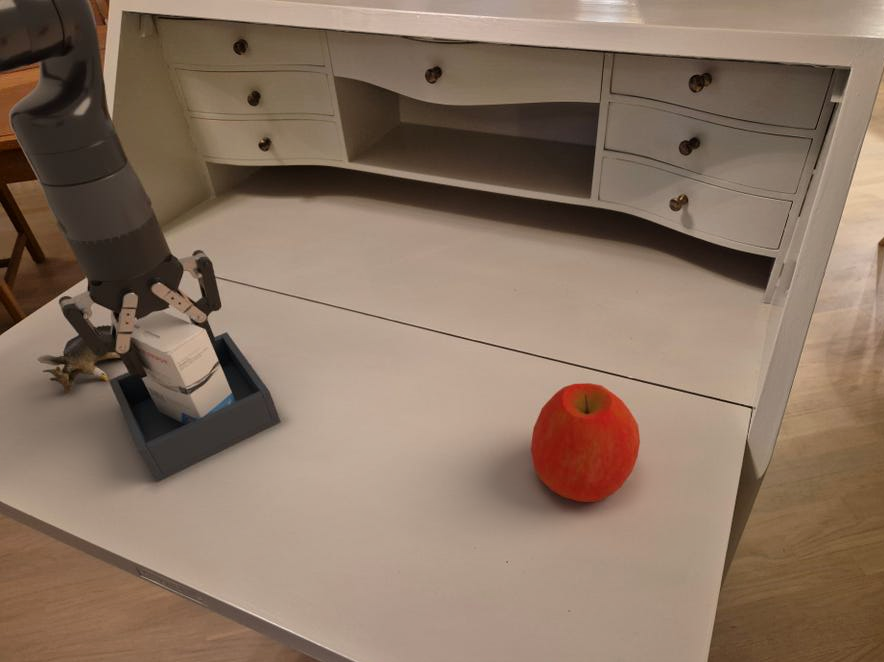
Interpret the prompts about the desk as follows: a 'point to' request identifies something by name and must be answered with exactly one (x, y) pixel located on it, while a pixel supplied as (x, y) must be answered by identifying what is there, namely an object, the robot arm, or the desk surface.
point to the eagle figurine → (77, 360)
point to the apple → (585, 442)
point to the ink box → (180, 367)
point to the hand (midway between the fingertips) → (174, 359)
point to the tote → (186, 445)
